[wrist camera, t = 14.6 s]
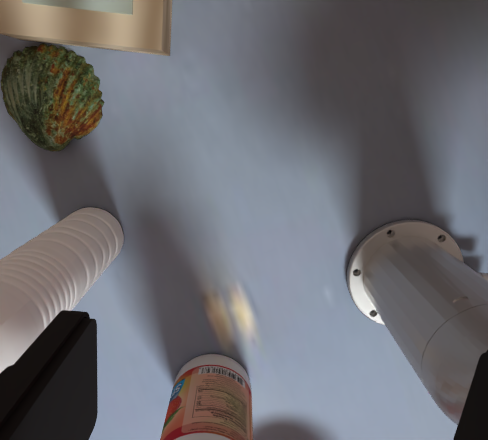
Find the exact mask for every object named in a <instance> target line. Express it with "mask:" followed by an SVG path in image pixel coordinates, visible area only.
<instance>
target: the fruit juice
mask: <svg viewBox="0 0 488 440" xmlns="http://www.w3.org/2000/svg"><path fill="white" fill-rule="evenodd" d="M160 440H253V427H252V394H251V384H250V380H249V377H248V375H247V373H246V371H245V370H244V368H243V367H242V366H241V365H240V364H239V363H238V362H236V361H235V360H233V359H231V358H229V357H227V356H223V355H219V354H206V355H201V356H198V357H196V358H193V359H192V360H190V361H189V362H187V363H186V364H185V365H184V366H183V367H182V368H181V370H180V371H179V373H178V375H177V377H176V379H175V382H174V386H173V390H172V394H171V398H170V402H169V406H168V410H167V414H166V419H165V423H164V427H163V431H162V435H161V439H160Z"/></svg>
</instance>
